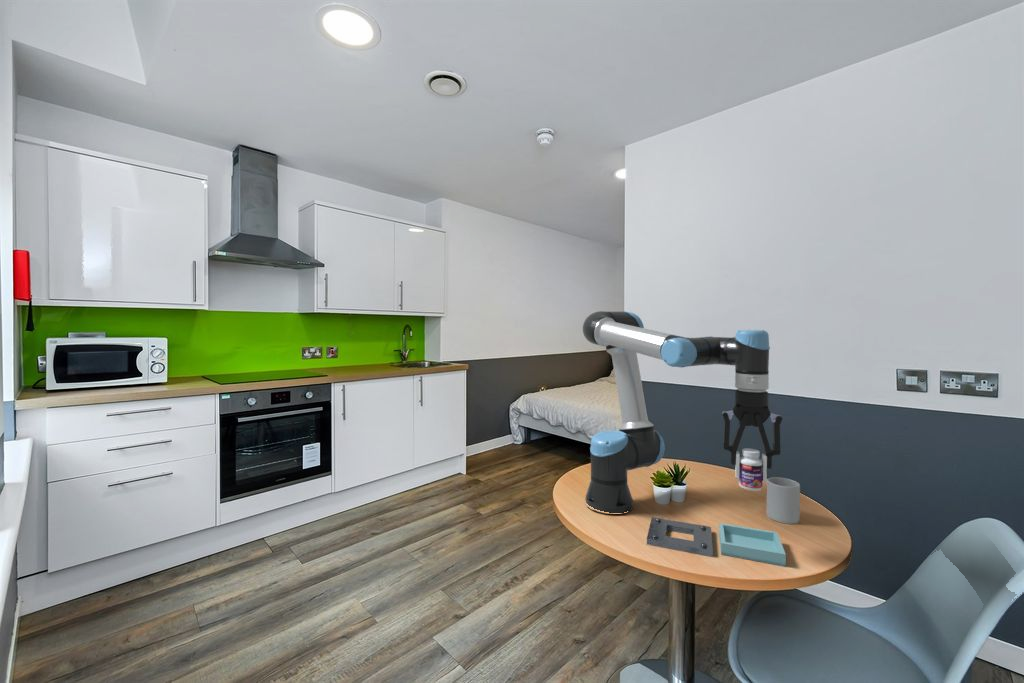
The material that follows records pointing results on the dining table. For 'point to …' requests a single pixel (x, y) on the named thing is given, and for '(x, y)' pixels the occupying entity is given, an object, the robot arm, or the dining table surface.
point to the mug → (783, 500)
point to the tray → (751, 544)
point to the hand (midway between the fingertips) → (750, 478)
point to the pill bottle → (750, 470)
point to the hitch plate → (698, 546)
